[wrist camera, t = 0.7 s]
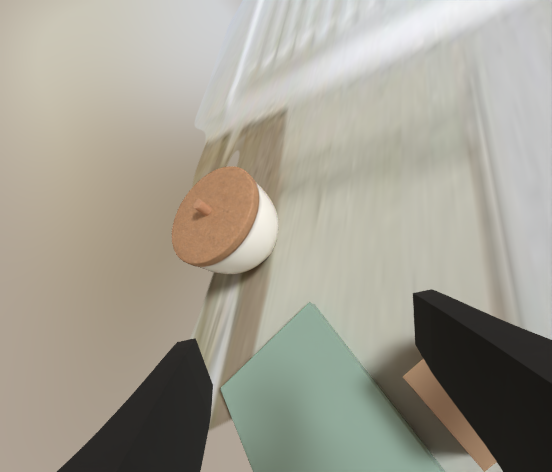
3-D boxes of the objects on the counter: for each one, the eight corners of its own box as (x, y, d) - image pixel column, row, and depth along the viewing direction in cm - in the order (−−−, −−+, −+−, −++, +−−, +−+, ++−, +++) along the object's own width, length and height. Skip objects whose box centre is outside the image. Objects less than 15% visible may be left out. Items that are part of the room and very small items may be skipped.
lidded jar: (268, 300, 30) (203, 273, 23) (207, 269, 37) (142, 241, 30) (310, 209, 32) (261, 158, 25) (244, 196, 39) (192, 153, 32)
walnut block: (550, 400, 17) (570, 403, 13) (483, 454, 17) (484, 471, 14) (470, 331, 20) (468, 318, 16) (416, 379, 21) (402, 376, 17)
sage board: (474, 509, 17) (474, 515, 16) (325, 626, 18) (318, 636, 17) (314, 304, 27) (309, 302, 26) (227, 388, 28) (220, 388, 28)
